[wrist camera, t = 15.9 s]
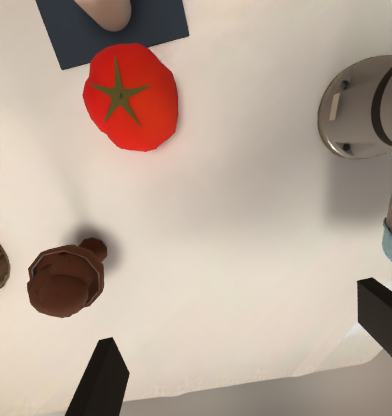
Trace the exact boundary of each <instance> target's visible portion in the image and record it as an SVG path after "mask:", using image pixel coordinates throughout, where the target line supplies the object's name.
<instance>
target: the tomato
mask: <svg viewBox="0 0 392 416" xmlns="http://www.w3.org/2000/svg"><path fill="white" fill-rule="evenodd" d="M83 99H84V102H85V106H86V108H87V111H88V113H89V115H90V118H91V119H92V120H93V122H94V123H95V124H96V125H97V127H98V128H99V129H100V130H101V131H102V132H104V133H105V134H107V135H108V137H109V139H110V140H111V141H112V142H113V143H114V144H115V145H116V146H117V147H119V148H121V149H126V150H134V151H144V152H147V151H150V150H153V149H156V148H157V147H158V146H159V145H160V144H162V143H163V142H164V141H166V140H167V139H168V138H169V137H171V136H172V135H173V134H174V133H175V129H176V123H177V118H178V94H177V87H176V83H175V80H174V77H173V74H172V72H171V71H170V70H169V69H168V68H167V67H166V66H164V65H163V64H162V63H161V62H160V61H159V59H158V58H157V57H156V56H155V55H154V54H153V53H152V52H151V51H150V50H149V49H148V48H146V47H144V46H143V45H141V44H139V43H130V44H118V45H113V46H109V47H107V48H105V49H104V50H102V51H100V52H99V53H97V54H96V55H95V57H94V58H93V59H92V60H91V64H90V73H89V78H88V79H87V81H86V82H85V86H84V91H83Z"/></svg>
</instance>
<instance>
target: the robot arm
mask: <svg viewBox="0 0 392 416" xmlns="http://www.w3.org/2000/svg"><path fill="white" fill-rule="evenodd" d="M318 127H319V132H320V135H321V138H322V140H323V142H324V144H325V145H326V146H327V147H328V148H329V150H331V151H332V152H333V153H335V154H337V155H339V156H341V157H345V158H352V159H365V158H370V157H375V156H378V155H381V154H385V153H388V152H391V151H392V55H383V56H376V57H371V58H367V59H365V60H362V61H360V62H358V63H356V64H354V65H352V66H350V67H348V68H347V69H345V70H344V71H343V72H341V73H340V74H339V75H338V76H337V77H336V78H335V79H334V80H333V81H332V83H331V84H330V85H329V87H328V89H327V90H326V92H325V94H324V96H323V98H322V101H321V104H320V108H319V113H318ZM383 225H384V234H383V241H382V247H383V250H384V253H385V254H386V256H387V257H388V258H389V259H390V260H391V261H392V195H391V200H390V204H389V209H388V213H387V217H386V218H385V219H384V222H383ZM357 290H358V323H359V324H360V325H361V326H362V327H363V328H364V329H365V330H366V331H367V332H368V333H369V334H370V335H371V336H372V337H373V338H374V339H375V340H376V341H377V342H378V343H379V344H380V345H381V346H382V347H383V348H384V349H385V350H386V351H387V352H388V353H389V354H390V356H391V357H392V291H391V290H389V289H388V288H386V287H385V286H384V285H382V284H381V283H379V282H378V281H376V280H375V279H374V278H368V279H363V280H359V281H357ZM129 374H130V373H129V371H128V369H127V367H126V365H125V362H124V360H123V358H122V356H121V354H120V352H119V350H118V347H117V345H116V343H115V341H114V339H113V337H111V338H107V339H102V340H99V341H98V343H97V346H96V348H95V350H94V352H93V354H92V357H91V359H90V361H89V363H88V365H87V368H86V370H85V372H84V374H83V376H82V379H81V381H80V383H79V385H78V388H77V390H76V392H75V394H74V396H73V399H72V401H71V403H70V405H69V407H68V410H67V412H66V414H65V416H119V413H120V409H121V406H122V402H123V398H124V394H125V390H126V386H127V382H128V378H129Z"/></svg>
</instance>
